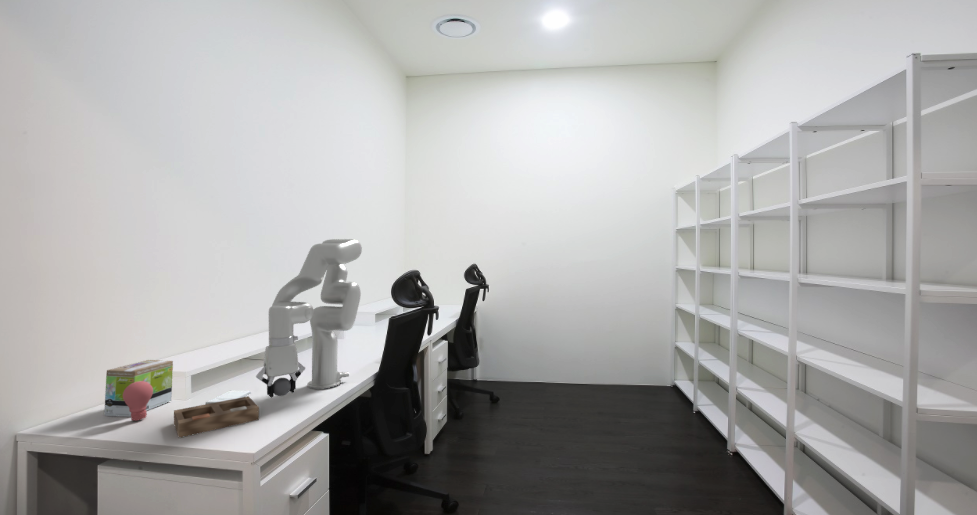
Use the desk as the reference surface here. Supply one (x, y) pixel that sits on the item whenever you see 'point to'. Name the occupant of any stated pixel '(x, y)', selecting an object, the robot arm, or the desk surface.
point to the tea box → (147, 371)
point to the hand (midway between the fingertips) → (281, 393)
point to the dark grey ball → (281, 386)
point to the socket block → (215, 416)
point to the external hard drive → (229, 396)
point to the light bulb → (138, 399)
